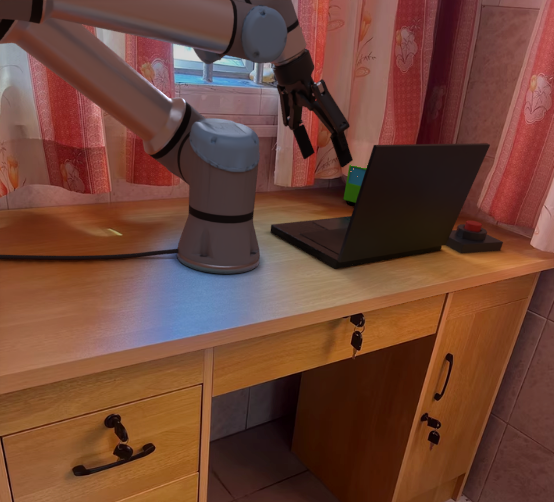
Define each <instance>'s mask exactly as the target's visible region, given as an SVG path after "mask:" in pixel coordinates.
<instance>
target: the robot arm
mask: <svg viewBox="0 0 554 502" xmlns="http://www.w3.org/2000/svg"><path fill="white" fill-rule="evenodd" d="M86 26H87V27H93V28H97V29H101V30H102V29H103V30H107V31H111V32H117V33H120V34H126V35H131V36H133V37H134V36H135V37H139V38H145V39H149V40H153V41H159V42H162V43H168V44H172V45H177V46H182V47H186V48H192V49H193V51H194V53H195V55H196V56H197V57H198V58H199V60H200V61H201V62H202V63H204V64H206V65H211V64H214V63H215V62H218V61H221V60H222V59H223V58H224V57H225V56H227V57H231V58H237V59H241V60H246V61H250V62H252V63H253V64H254V63H255V64H270V65H272V67H271V70H272V72H273V74H274V77H275V79H276V82H277V84H276V90H277V93H278V96H279V102H280V111H281V117H282V118H281V119H282V124H283V126H284V127H285V128H286V127H288V128H289V130H290V131H292V133H293V136H294V139H295V141H296V143H297V147H298V149H299V151H300V154H301V156H302V159H303V160H307V159H308V158H309V157H311V156H313V155H314V154H315V153H316V152H315V150H314V147H313V144H312V141H311V139H310V136H309V133H308V131H307V128H306V125H305V124H303V123H304V121H303V119H302V117H303V108H306V109H307V110H308V111H310V112H313V113H314V114H315V116H316V117H317V118H318V119H319V120H320V122H321V123H322V125H323V126H324V127H325V128H326V129H327V130H328V132H329V133H330V137H329V138H330V140H331V143H332V147H333V149H334V152H335V155H336V158H337V161H338V163H339V166H340V168H345V167H346V166H347V165H349V164H350V163H351V162H353V156H352V153H351V150H350V146H349V143H348V140H347V137H346V134H345V131H346V130H347V129H349V128H350V123H349V122H348V120H347V118H346V117H345V115H344V113H343V112H342V110H341V109H340V107H339V106H338V104H337V102H336V100H335V99H334V97H333V96H332V94H331V92H330V91H329V89H328V87H327V84H326V81H325V80H324V79H323V78H321V79H320V80H318V81H317V82H315V80H314V79H313V76H312V74H313V72H314V71H315V64H314V61H313V59H312V58H313V57H312V55H311V52H310V50H309V49H308V48H307V46H308V45H307V41H306V39H305V36H304V33H303V28H302V27H301V25H300V21H299V19H298V16H297V12H296V10H295V7H294V3H293V0H0V45H5V44H14V45H16V46H18V47H19V48H20V49H22V50H23V51H24V52H26V53H27V54H28V55H30V56H31V57H32V58H34V59H35V60H36V61H37V62H39V63H40V64H42V65H43V66H44V67H45V68H47V69H48V70H49V71H51V72H52V73H53V74H55V76H57V77H58V78H60V79H62V80H63V81H64V82H66V83H67V84H68V85H69V86H70V87H72V88H73V89H75V90H76V91H77V92H78V93H80V94H81V95H82V96H84V97H85V98H87V99H88V100H89V101H91V103H93V104H95V105H96V106H97V107H98V108H100V109H101V110H103V111H104V113H106V114H108V115H109V116H110V117H112V118H113V119H114V120H116V121H117V122H118V123H119V124H121V125H123V127H125V129H127V130H129V131H130V132H132V133H133V134H134V135H136V137H138V138H139V139H141V140H142V146H143V150H144V152H145V153H146V154H147V155H148V156H149V157H151V158H152V159H154V160H155V161H156V162H158V163H159V164H161V165H162V166H163V167H164V168H166V170H167V171H169V172H170V173H171V174H173V175H174V176H176V177H178V178H179V179H181V180H182V181H183V182H184V183H186V184H187V186H189V187H188V213H187V218H186V221H185V223H184V227H183V229H182V231H181V232H182V233H181V235H180V238H179V241H178V243H177V248H172V249H161V250H152V251H151V250H150V251H144V252H143V251H142V252H133V253H132V252H131V253H119V254H118V253H117V254H98V255H97V254H95V255H94V254H93V255H45V254H44V255H43V254H42V255H41V254H39V255H37V254H36V255H35V254H27V255H26V254H0V260H15V261H17V260H18V261H21V260H22V261H102V260H122V259H133V258H145V257H152V256H162V255H163V256H164V255H171V254H172V255H173V254H176V256H177V259H178V261H179V262H180V263H181V264H183V266H186V267H188V268H190V269H193V270H196V271H200V272H205V273H210V274H220V275H233V274H234V275H235V274H241V273H246V272H249V271H252V270H254V269H256V268H257V267H258V266H259V264H260V256H261V255H260V247H259V243H258V238H257V234H256V229H255V225H254V215H255V214H254V212H255V205H256V203H255V202H256V192H257V182H258V171H259V163H260V159H261V153H260V138H259V136H258V134H257V132H256V131H255V130H254V129H252V128H251V127H250V126H247V125H245V124H243V123H239V122H235V121H234V120H230V119H223V118H212V117H210V118H206V117H205V116H204V115H203V114H202V113H200V111H198V110H197V109H196V108H195V107H193V106H192V105H191V104H190V103H188V102H187V100H185V99H184V98H183V97H180V96H178V97H172V98H170V97H168V96H167V95H166V94H164V92H162V91H161V90H160V89H158V88H157V87H156V86H155V85H154V84H152V82H150V81H149V80H148V79H147V78H145V76H144V75H142V74H141V73H140V72H139V71H137V70H136V69H135V68H134V67H132V66H131V65H130V64H129V63H128V62H127V61H125V59H123V58H122V57H121V56H120V55H118V54H117V52H115V51H114V50H113V49H111V48H110V47H109V46H108V45H106V43H104V42H103V41H102V40H101V39H100V38H98V36H96V35H95V34H93V33H92V32H91V31H90V30H89V29H88V28H87V27H86Z"/></svg>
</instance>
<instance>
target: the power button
mask: <svg viewBox="0 0 554 502" xmlns="http://www.w3.org/2000/svg"><path fill="white" fill-rule="evenodd" d="M464 224H465V227H464V229H466V230H469V231H474V232H480V230H481V228H483V224H482V223H481V222H479V221H476V220H466V221H465V223H464Z"/></svg>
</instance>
